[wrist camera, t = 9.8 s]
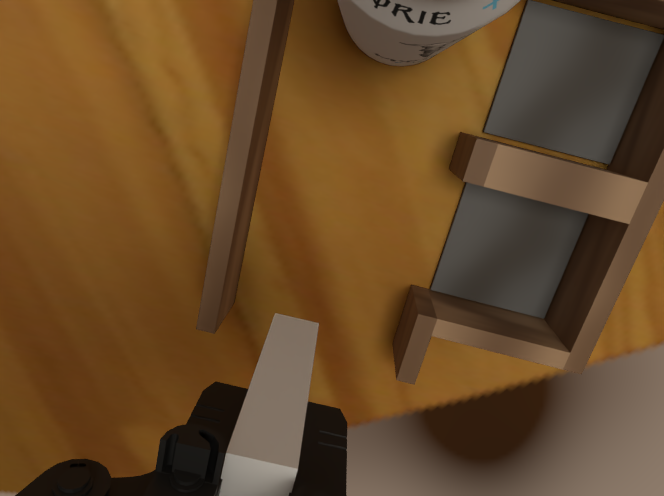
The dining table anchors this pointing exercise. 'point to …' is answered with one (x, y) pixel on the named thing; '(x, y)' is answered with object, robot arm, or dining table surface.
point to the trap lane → (503, 186)
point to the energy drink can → (415, 25)
